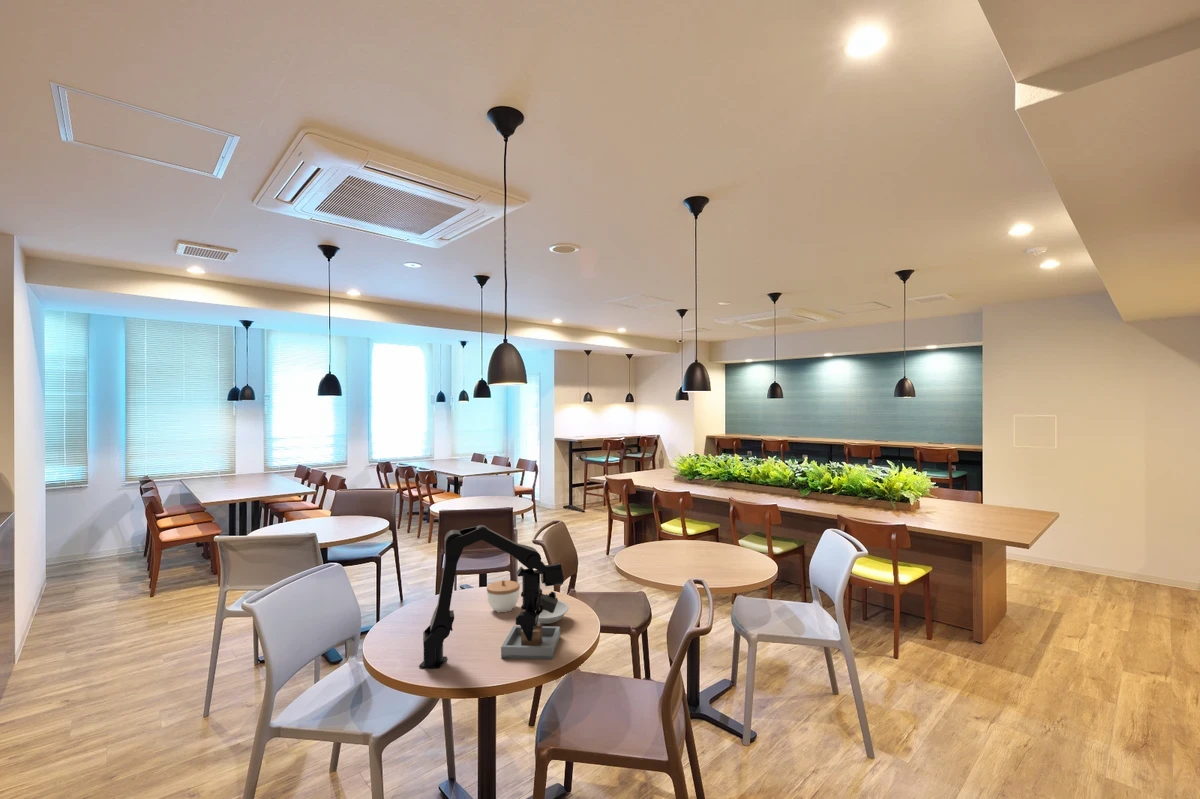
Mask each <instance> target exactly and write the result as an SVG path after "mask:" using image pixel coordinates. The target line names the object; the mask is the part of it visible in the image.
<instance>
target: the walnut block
mask: <svg viewBox="0 0 1200 799" xmlns="http://www.w3.org/2000/svg"><path fill="white" fill-rule="evenodd" d="M542 626H543V625H537V626H534V627H533V634H532V640H531V641H528V640H527V638H526V636H525V634H524V632H523V630H521V646H541V643H542Z"/></svg>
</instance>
